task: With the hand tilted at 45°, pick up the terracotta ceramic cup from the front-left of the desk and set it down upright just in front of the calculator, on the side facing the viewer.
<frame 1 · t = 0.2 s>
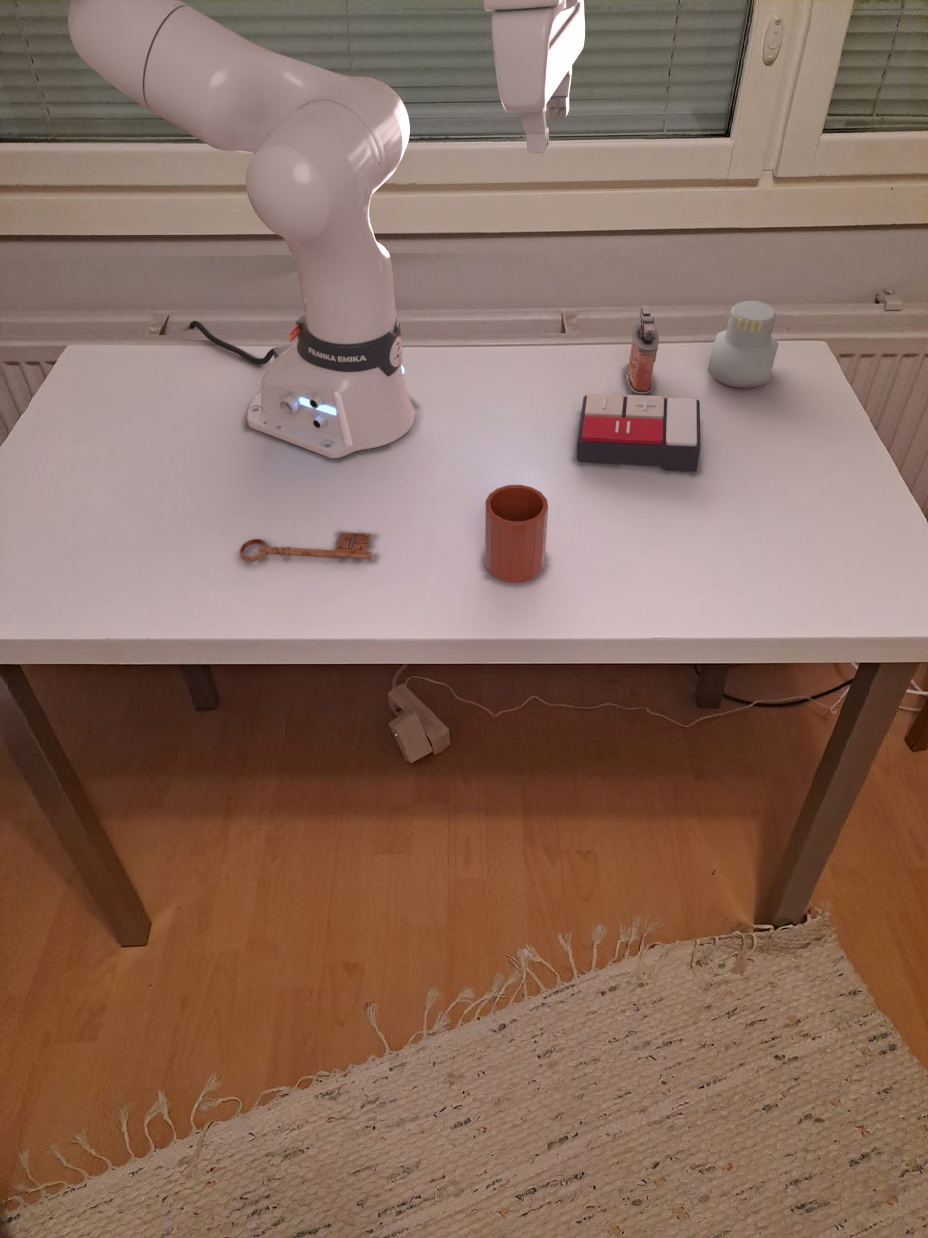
hand: (549, 132, 89), 39 cm above the table, tool pointing down, fingers open, 8 cm apart
calculator: (637, 443, 119), on the table
lighter: (638, 383, 128), on the table
air freshener: (738, 377, 129), on the table
key: (307, 550, 105), on the table
cup: (514, 562, 103), on the table
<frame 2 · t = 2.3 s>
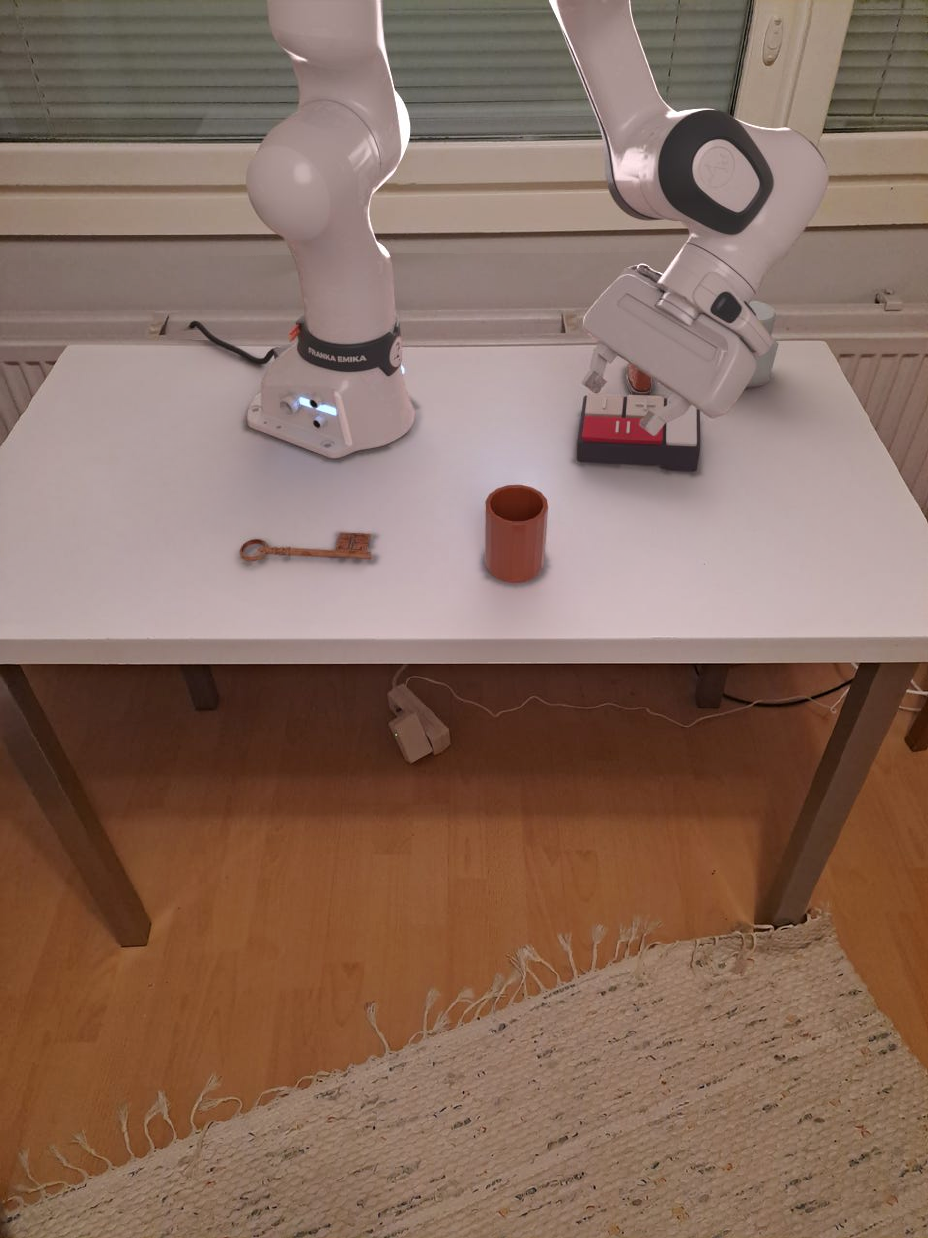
hand: (616, 409, 96), 16 cm above the table, tool tilted 45°, fingers open, 8 cm apart
nothing on the table moved.
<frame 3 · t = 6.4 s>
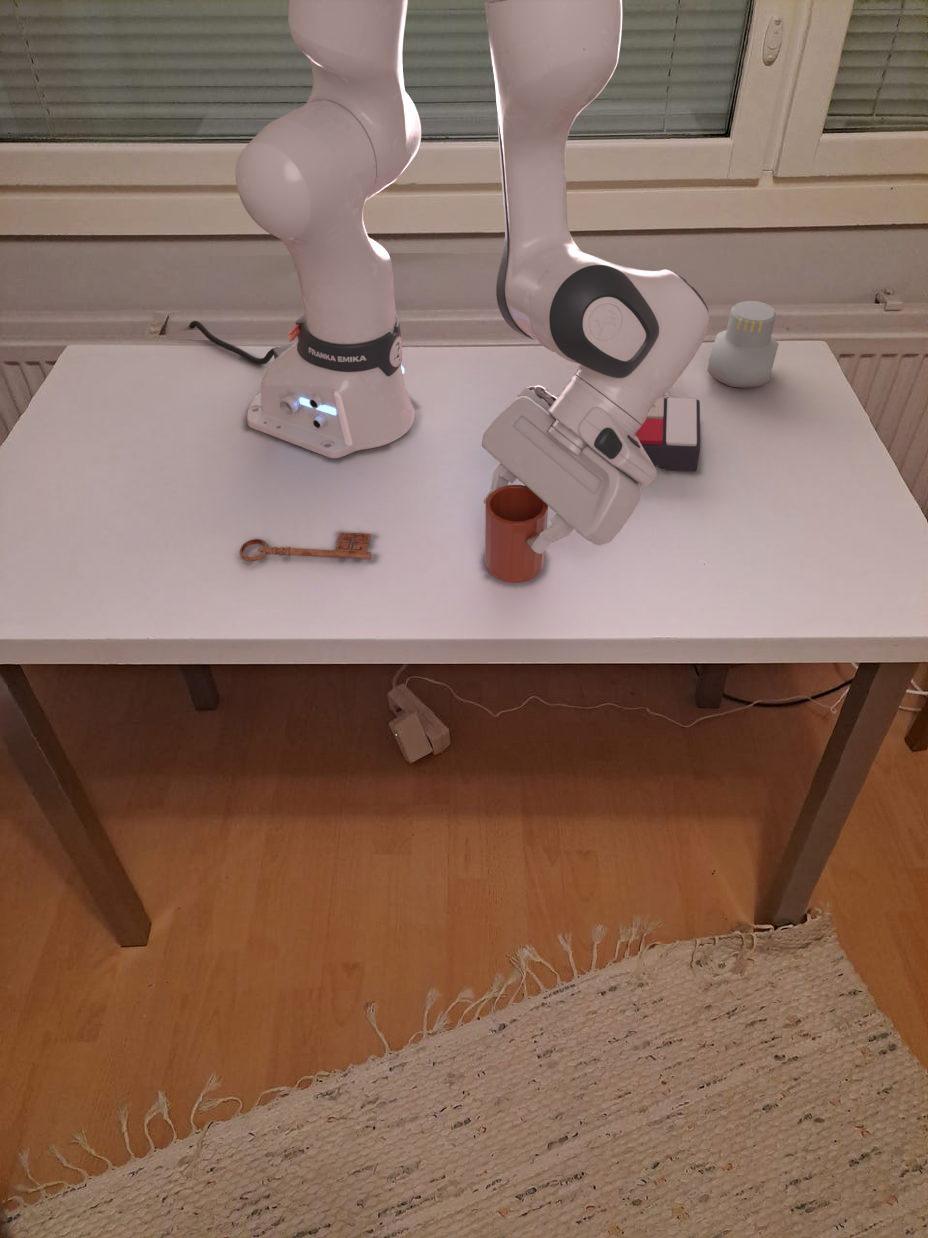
hand: (511, 528, 99), 5 cm above the table, tool tilted 45°, fingers closed on cup, 7 cm apart
cup: (514, 562, 103), on the table, touching gripper
everything else where it was.
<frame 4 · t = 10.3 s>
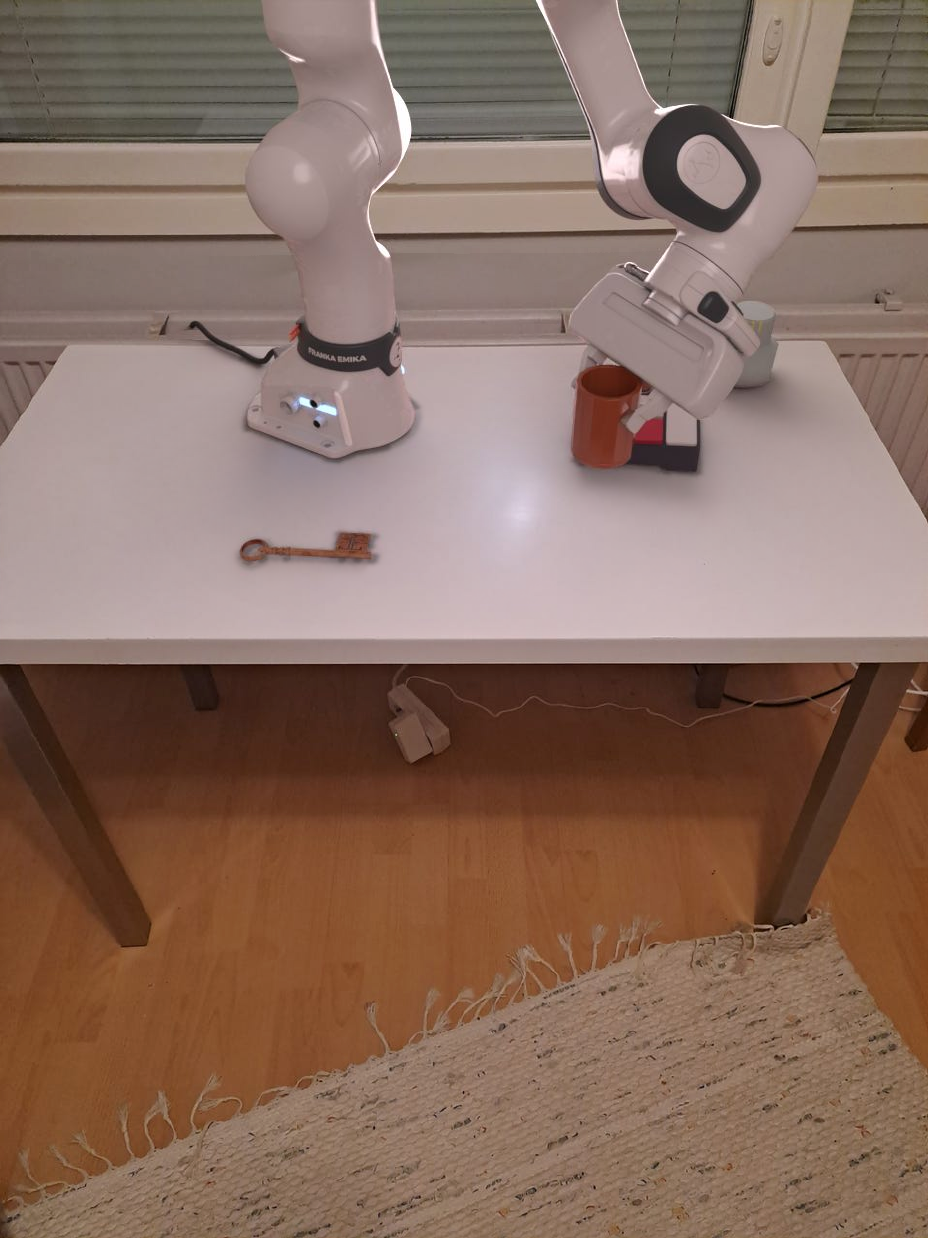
hand: (602, 409, 95), 17 cm above the table, tool tilted 45°, fingers closed on cup, 7 cm apart
cup: (601, 450, 99), point 11 cm above the table, touching gripper
everything else where it was.
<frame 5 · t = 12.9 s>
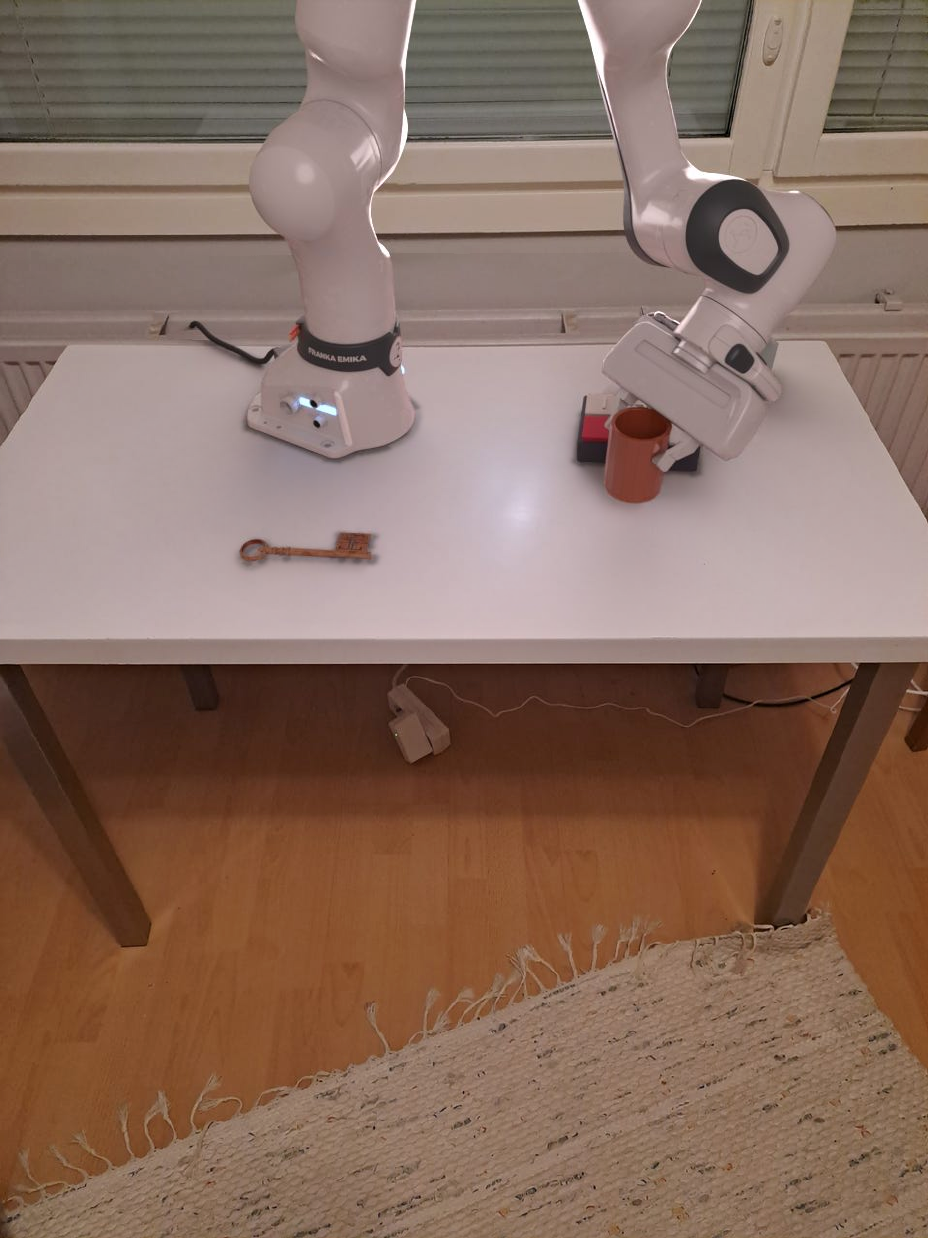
hand: (633, 449, 102), 9 cm above the table, tool tilted 45°, fingers closed on cup, 7 cm apart
cup: (632, 485, 106), point 4 cm above the table, touching gripper
everything else where it was.
when the fingers open (5 cm above the table, at t = 14.7 s): cup stays where it is, on the table.
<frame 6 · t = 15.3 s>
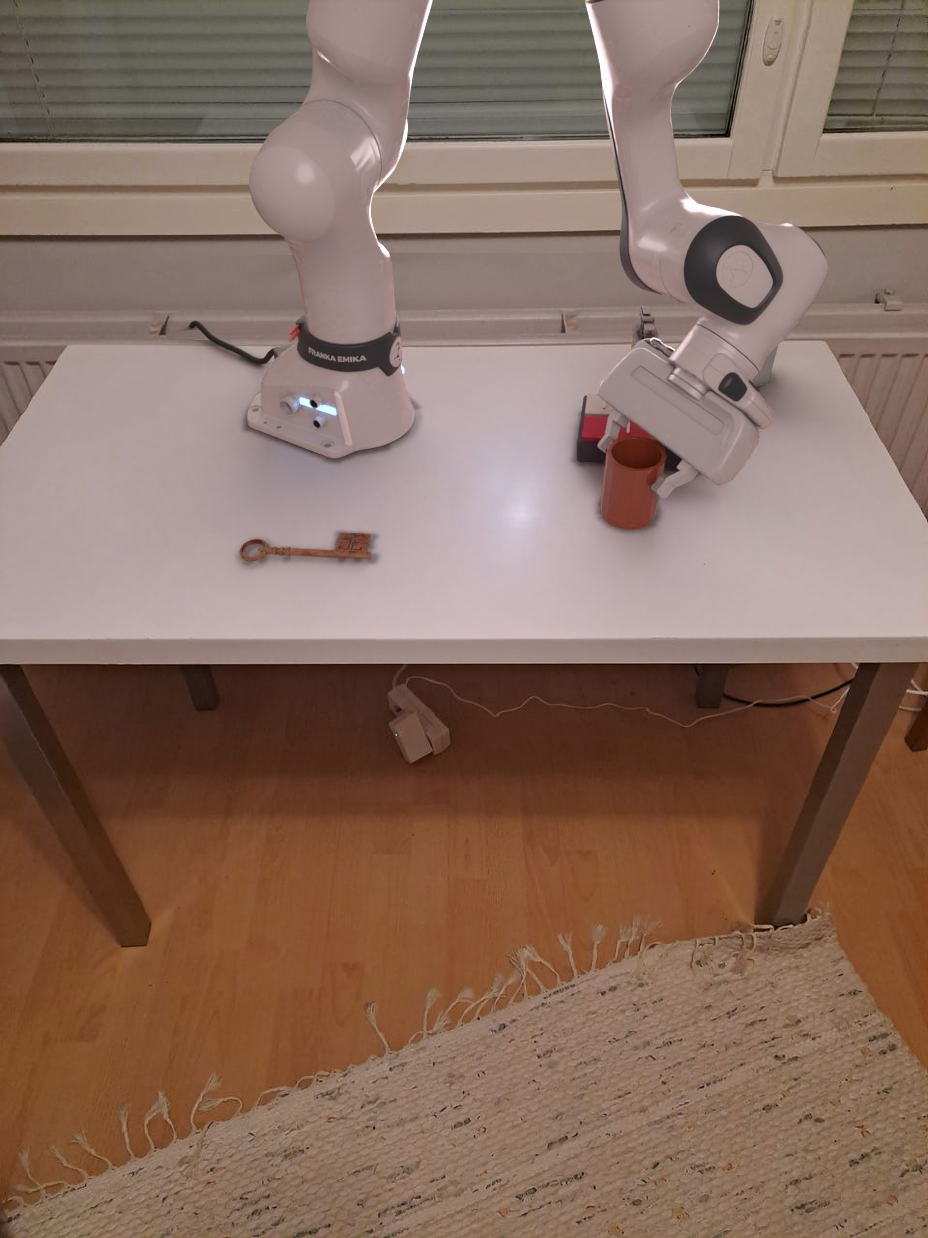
hand: (629, 472, 104), 6 cm above the table, tool tilted 45°, fingers open, 8 cm apart
cup: (627, 511, 109), on the table
everything else where it was.
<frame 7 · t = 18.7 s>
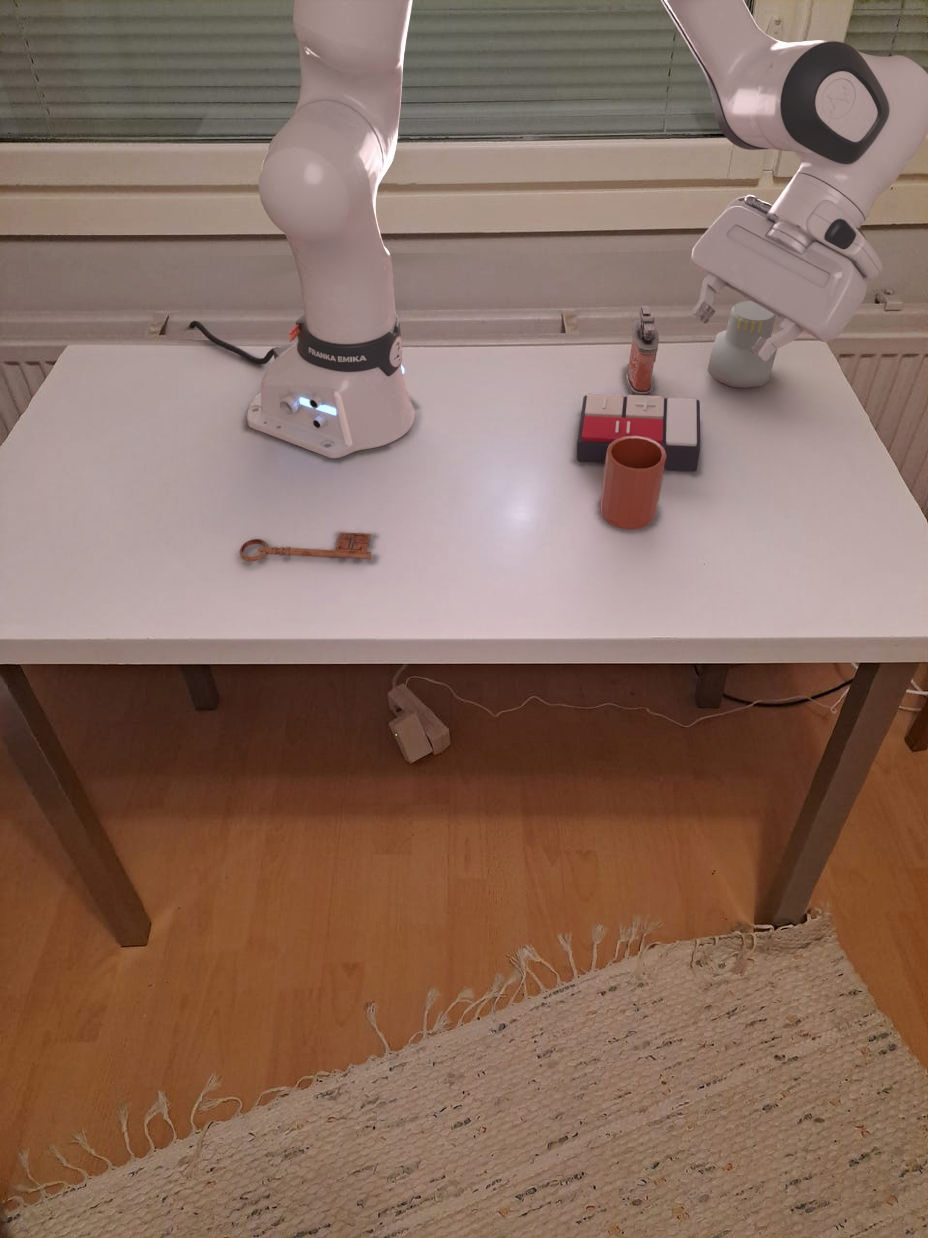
hand: (727, 337, 101), 18 cm above the table, tool tilted 40°, fingers open, 8 cm apart
nothing on the table moved.
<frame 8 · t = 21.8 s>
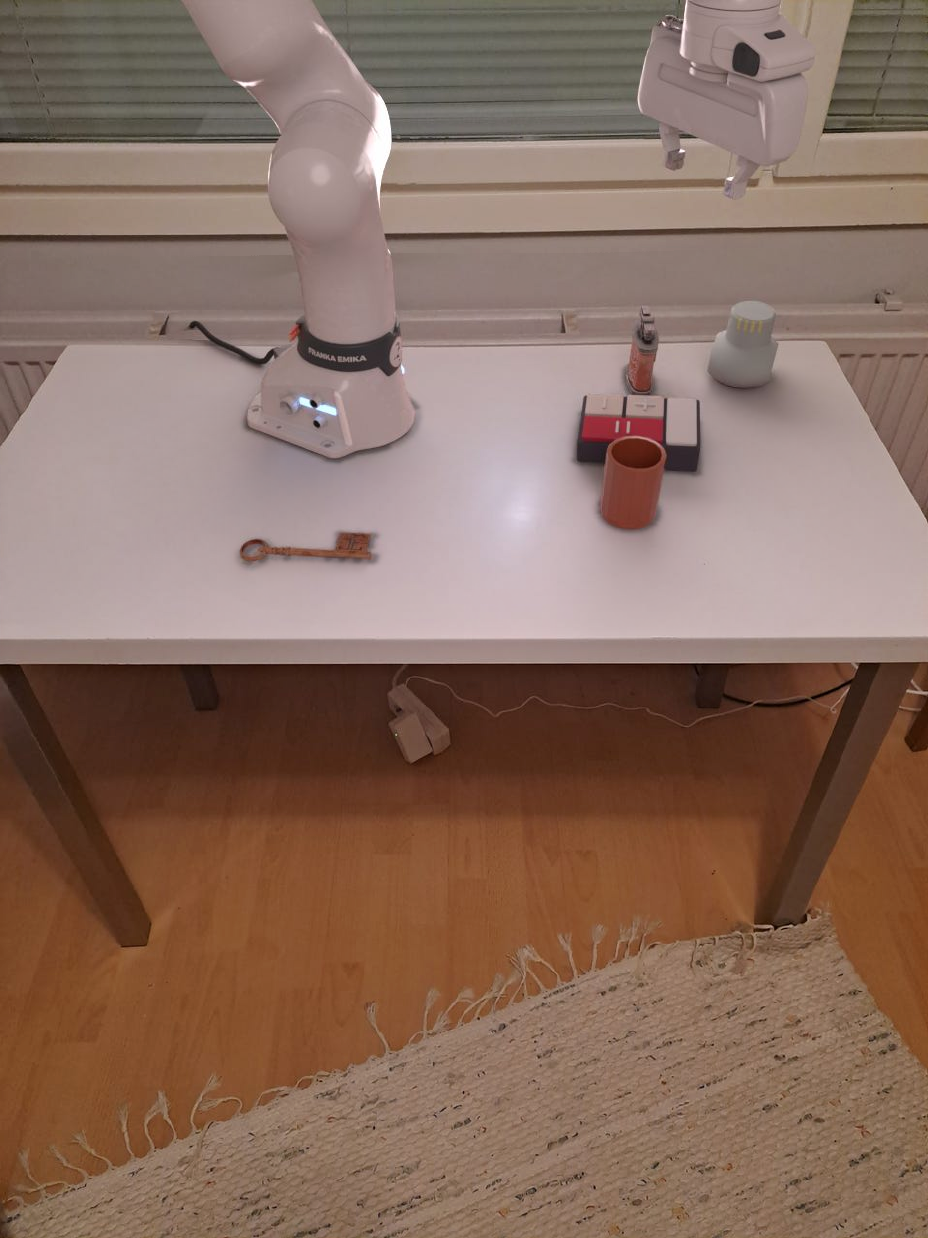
hand: (702, 181, 99), 31 cm above the table, tool pointing down, fingers open, 8 cm apart
nothing on the table moved.
at the end: cup inside the target area on the table beside the calculator (2.0 cm from its centre), on the table; cup tilted 0°; calculator moved 0.2 cm from its start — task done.
